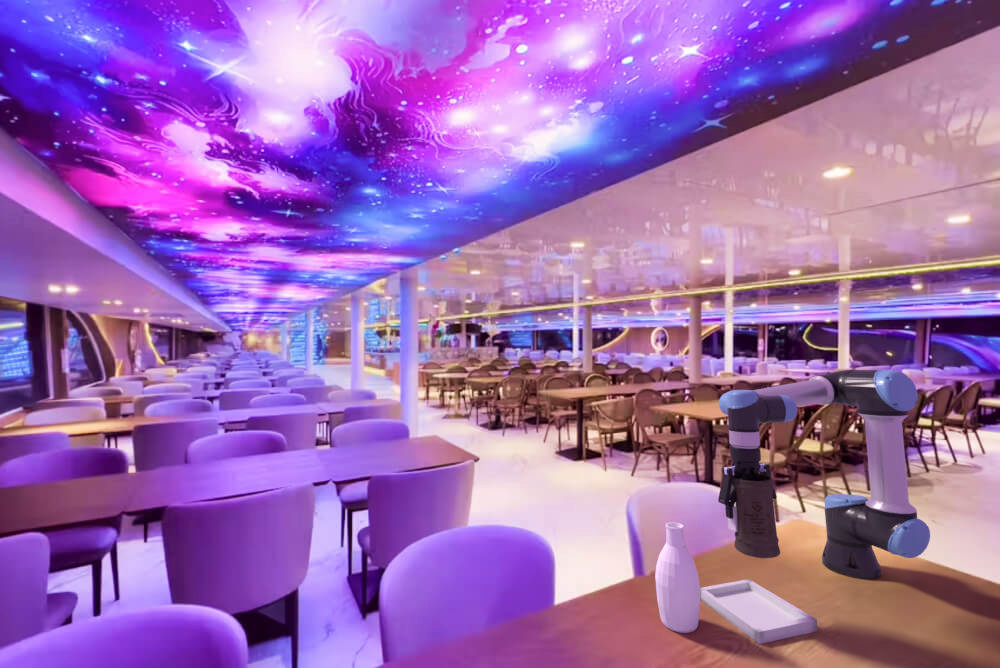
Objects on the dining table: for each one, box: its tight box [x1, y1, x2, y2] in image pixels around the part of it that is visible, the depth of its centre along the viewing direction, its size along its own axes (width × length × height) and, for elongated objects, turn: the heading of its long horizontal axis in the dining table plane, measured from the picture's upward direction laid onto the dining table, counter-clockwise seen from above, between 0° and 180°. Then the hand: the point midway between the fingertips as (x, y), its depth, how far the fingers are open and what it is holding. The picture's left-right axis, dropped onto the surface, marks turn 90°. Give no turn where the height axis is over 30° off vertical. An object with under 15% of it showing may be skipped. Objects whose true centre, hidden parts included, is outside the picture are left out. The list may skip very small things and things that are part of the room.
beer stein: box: [732, 473, 781, 559], centre depth 123 cm, size 15×11×20 cm
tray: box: [700, 578, 819, 645], centre depth 122 cm, size 18×22×3 cm
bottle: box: [654, 521, 701, 634], centre depth 119 cm, size 11×11×25 cm
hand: (749, 527), depth 123 cm, fingers closed on beer stein, 10 cm apart
